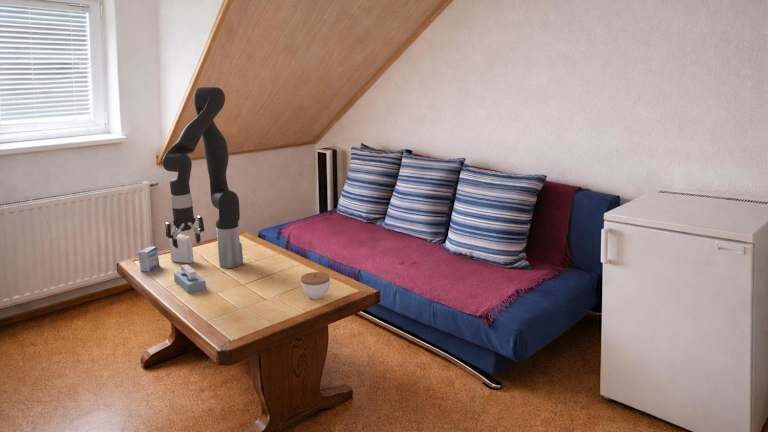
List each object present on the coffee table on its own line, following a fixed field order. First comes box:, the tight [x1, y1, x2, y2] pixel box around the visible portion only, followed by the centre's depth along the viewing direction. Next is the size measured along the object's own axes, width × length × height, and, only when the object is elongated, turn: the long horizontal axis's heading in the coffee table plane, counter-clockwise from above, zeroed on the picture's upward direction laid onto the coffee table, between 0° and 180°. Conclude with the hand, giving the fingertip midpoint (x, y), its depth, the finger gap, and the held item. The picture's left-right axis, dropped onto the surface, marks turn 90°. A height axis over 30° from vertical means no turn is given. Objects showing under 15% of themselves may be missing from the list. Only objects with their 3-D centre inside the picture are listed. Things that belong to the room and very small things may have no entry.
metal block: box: [180, 263, 197, 282], centre depth 248 cm, size 2×10×7 cm, turn 36°
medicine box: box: [137, 246, 160, 273], centre depth 266 cm, size 8×4×9 cm, turn 168°
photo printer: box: [168, 233, 195, 264], centre depth 274 cm, size 10×4×12 cm, turn 69°
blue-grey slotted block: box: [173, 270, 207, 294], centre depth 248 cm, size 7×16×4 cm, turn 36°
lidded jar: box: [300, 271, 331, 300], centre depth 236 cm, size 11×11×9 cm
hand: (187, 245), depth 244 cm, fingers open, 8 cm apart
